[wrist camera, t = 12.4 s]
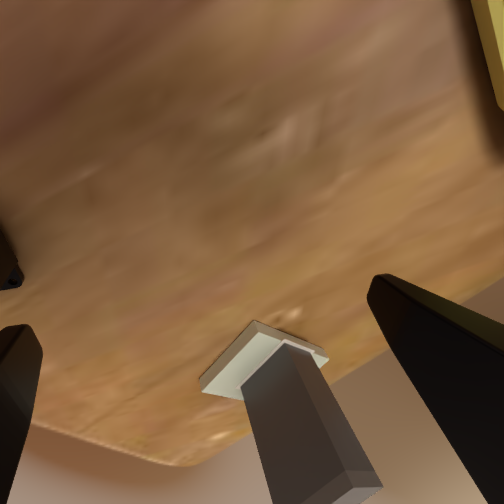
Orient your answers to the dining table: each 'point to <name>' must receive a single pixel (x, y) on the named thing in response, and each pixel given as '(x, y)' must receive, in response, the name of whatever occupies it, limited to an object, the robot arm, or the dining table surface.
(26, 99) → the dining table surface
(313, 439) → the block
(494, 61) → the plastic component
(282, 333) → the board
